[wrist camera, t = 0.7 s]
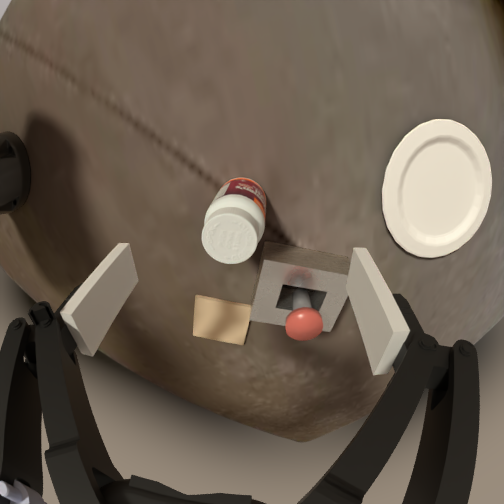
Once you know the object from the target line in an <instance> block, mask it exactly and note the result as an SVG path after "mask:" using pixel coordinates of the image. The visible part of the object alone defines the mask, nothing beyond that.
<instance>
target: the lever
mask: <svg viewBox="0 0 504 504" xmlns="http://www.w3.org/2000/svg"><path fill="white" fill-rule="evenodd" d="M292 306H293V311H292V312H290V313H289V314H288V316H287V317H286V321H285V323H286V332H287V334H288V335H289V336H290V337H291V338H293V339H295V340H300V341H305V340H310V339H313V338H315V337H316V336H318V335H319V334H320V333H321V331H322V329H323V321H322V316H321V314H320V313H319V312H318V311H317V310H316V309H313V308H312V306H311V300H310V294H309V292H308V290H306V289H304V288H299V289H296V290H295V291H293V293H292Z"/></svg>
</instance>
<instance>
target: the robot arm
mask: <svg viewBox="0 0 504 504" xmlns="http://www.w3.org/2000/svg"><path fill="white" fill-rule="evenodd" d="M29 189H30V165H29V160H28V156H27V152H26V150H25V147H24V145H23V143H22V141H21V140H20V139H19V137H18V136H17V135H15V134H14V133H12V132H3V133H0V214H6V213H11V212H13V211H15V210H16V209H18V208H20V207H21V206H22V205H23V204H24V203H25V201H26V199H27V197H28V194H29ZM137 282H138V277H137V273H136V269H135V265H134V261H133V257H132V253H131V249H130V244H129V243H119V244H118V245H117V246H116V247H115V248H114V249H113V250H112V251H111V252H110V253H109V254H108V255H107V257H106V258H105V259H104V260H103V261H102V262H101V263H100V264H99V266H98V267H97V268H96V269H95V270H94V271H93V272H92V274H91V275H90V276H89V277H88V278H87V279H86V281H85V282H84V283H81V284H80V285H79V286H77V287H76V288H74V290H73V291H72V292H71V293H70V295H69V296H68V297H67V298H66V300H65V301H64V302H63V303H62V304H61V306H60V307H59V308H58V309H57V311H56V312H55V313H53V311H52V309H51V307H50V304H49V303H48V302H46V301H42V302H38V303H37V304H35V305H34V306H32V307H31V309H30V310H29V313H28V315H29V316H30V318H31V320H32V322H33V324H34V325H28V324H27V322H26V320H25V319H24V318H17V319H15V320H13V321H12V322H11V323H10V325H9V327H8V329H7V332H6V335H5V338H4V341H3V344H2V347H1V350H0V504H47V503H46V502H44V500H43V499H42V495H43V472H42V455H41V420H42V413H43V418H44V424H45V428H46V433H47V437H48V442H49V447H50V448H49V449H48V450H46V451H45V459H46V464H47V467H48V470H49V474H50V477H51V480H52V483H53V486H54V489H55V492H56V495H57V497H58V500H59V502H60V504H265V503H263V502H260V501H257V500H253V499H252V496H250V495H235V494H224V493H216V494H201V495H186V494H183V493H181V492H178V491H176V490H174V489H172V488H170V487H168V486H165V485H163V484H161V483H159V482H157V481H153V480H149V479H145V478H141V477H138V476H135V475H131V479H123V477H122V476H121V475H120V473H119V472H118V471H117V469H116V468H115V467H114V465H113V464H112V462H111V459H110V457H109V455H108V452H107V450H106V448H105V445H104V443H103V440H102V438H101V435H100V433H99V430H98V427H97V424H96V422H95V419H94V416H93V413H92V410H91V407H90V404H89V400H88V397H87V394H86V391H85V387H84V383H83V379H82V376H81V372H80V368H79V363H78V359H77V355H76V353H75V351H74V350H75V348H76V347H77V346H78V348H79V350H80V352H81V353H82V354H85V355H89V356H94V354H95V352H96V350H97V349H98V347H99V345H100V343H101V341H102V340H103V338H104V336H105V334H106V333H107V331H108V329H109V328H110V326H111V324H112V323H113V321H114V319H115V318H116V316H117V314H118V313H119V311H120V309H121V308H122V306H123V305H124V303H125V301H126V300H127V298H128V297H129V295H130V293H131V292H132V290H133V289H134V287H135V286H136V284H137ZM346 290H347V293H348V296H349V298H350V301H351V304H352V307H353V310H354V313H355V316H356V319H357V323H358V326H359V329H360V332H361V335H362V338H363V342H364V345H365V348H366V352H367V355H368V359H369V362H370V366H371V369H372V373H373V375H379V374H388V373H389V371H390V369H391V367H392V366H393V368H394V370H395V373H394V375H393V377H392V378H391V380H390V382H389V383H388V385H387V387H386V389H385V391H384V392H383V394H382V396H381V397H380V399H379V401H378V402H377V404H376V406H375V407H374V409H373V410H372V412H371V413H370V415H369V416H368V418H367V419H366V421H365V422H364V424H363V425H362V427H361V428H360V430H359V431H358V432H357V434H356V436H355V437H354V438H353V439H352V441H351V442H350V444H349V445H348V446H347V448H346V449H345V450H344V451H343V453H342V454H341V455H340V456H339V458H338V459H337V460H336V461H335V463H334V464H333V465H332V466H331V467H330V469H329V470H328V471H327V472H326V473H325V474H324V476H323V477H322V478H321V479H320V480H319V481H318V482H317V483H316V485H315V486H314V487H313V488H312V489H311V490H310V491H309V492H308V493H307V494H306V495H305V496H304V497H303V498H302V499H301V500H300V501H299V502H298V503H297V504H361V503H362V500H363V497H364V495H365V494H366V492H367V491H368V489H369V488H370V487H371V485H372V483H373V482H374V481H375V479H376V478H377V477H378V475H379V473H380V472H381V470H382V469H383V467H384V466H385V464H386V463H387V461H388V459H389V458H390V456H391V454H392V453H393V451H394V449H395V448H396V446H397V444H398V442H399V441H400V439H401V437H402V435H403V433H404V431H405V429H406V428H407V426H408V424H409V421H410V419H411V418H412V415H413V414H414V411H415V409H416V407H417V405H418V403H419V401H420V398H421V396H422V394H423V391H424V389H425V388H428V389H429V392H428V400H427V407H426V413H425V419H424V425H423V430H422V435H421V440H420V445H419V449H418V453H417V457H416V461H415V465H414V468H413V472H412V475H411V479H410V482H409V485H408V488H407V491H406V494H405V497H404V500H403V503H402V504H467V503H468V499H469V495H470V491H471V486H472V481H473V475H474V469H475V461H476V455H477V444H478V433H479V410H480V409H479V408H480V403H479V402H480V401H479V400H480V398H479V397H480V395H479V371H478V359H477V352H476V349H475V347H474V346H473V344H471V343H470V342H469V341H466V340H458V341H456V343H455V344H454V345H453V347H447V346H441V345H439V344H438V342H437V341H436V339H435V338H434V337H432V336H430V335H428V334H425V333H424V331H423V329H422V327H421V326H420V324H419V322H418V320H417V318H416V316H415V314H414V312H413V310H412V309H411V307H410V305H409V303H408V301H407V300H406V299H405V298H404V297H403V296H402V295H401V294H391V292H390V290H389V288H388V286H387V284H386V282H385V281H384V279H383V277H382V275H381V273H380V272H379V270H378V268H377V266H376V264H375V263H374V261H373V259H372V257H371V256H370V254H369V252H368V251H367V249H366V248H353V254H352V259H351V264H350V269H349V274H348V279H347V284H346ZM24 357H25V358H26V359H25V362H24Z"/></svg>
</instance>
